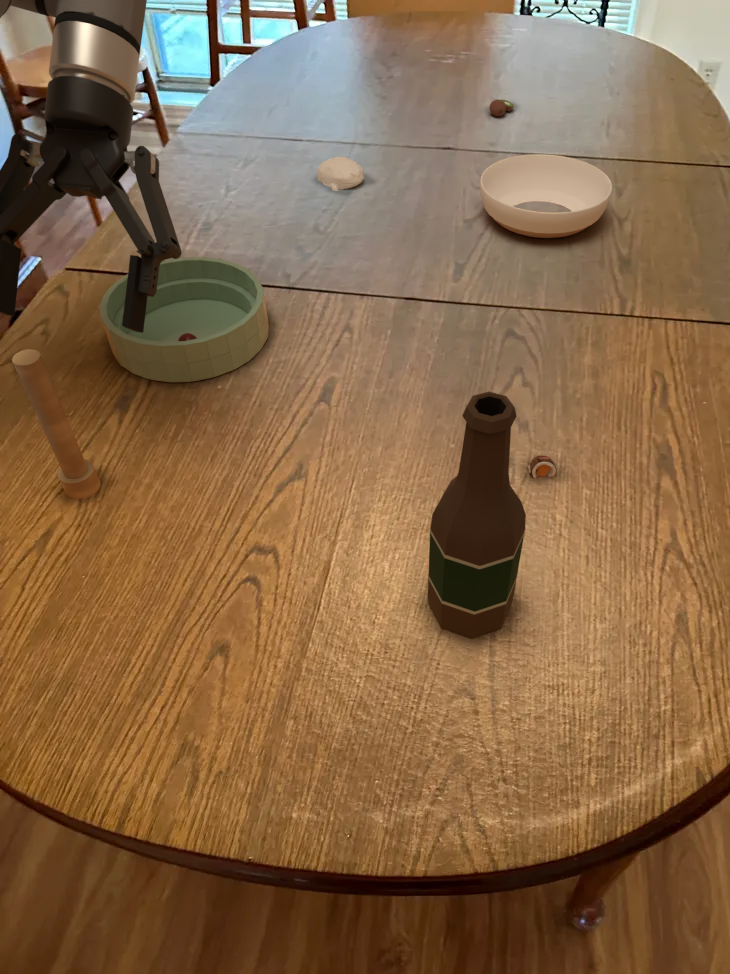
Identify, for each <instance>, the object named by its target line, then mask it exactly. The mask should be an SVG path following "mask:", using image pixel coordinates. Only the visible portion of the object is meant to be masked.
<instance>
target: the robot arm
mask: <svg viewBox="0 0 730 974" xmlns="http://www.w3.org/2000/svg"><path fill="white" fill-rule="evenodd" d="M147 2H148V0H0V19H1V18H2V17H3V16H4V15H6V13H7V11H8V10H9V9H10V7H15V8H18V9H21V10H24V11H28V12H32V13H35V14H39V15H43V16H46V17H52V18H55V19H54V24H53V32H52V33H53V34H52V40H51V41H52V42H51V50H50V58H49V66H48V74H49V76H50V78H51V79H50V80H49V81H48V83H47V88H46V98H45V107H44V123H45V131H46V132H45V136H44V137H43V140H41V142H39V141H34V140H29V139H27V138H26V137H25V136H23V135H22V134H20V133H15V134H13V135H12V137H11V140H10V144H9V148H8V154H7V157H6V159H5V161H4V162H3V164H2V165H1V167H0V314H2V315H5V316H12V317H15V313H16V305H17V295H18V287H19V286H18V285H19V277H20V269H21V268H20V267H21V257H22V248H20V247H18V246H17V245H16V242H17V241H18V240H20V238H22V236H23V235H24V234H25V233H26V232H27V231H28V230H29V229H30V228H31V227H32V226H33V224H34V223H36V221H37V220H38V219H39V218H40V217H41V216H42V215H43V214H44V213H45V212H46V211H47V210H48V209H49V208H50V207H51V205H52V204H53V203H54V202H55V201H59V200H62V199H63V198H64V197H65V196H66V195H67V194H68V195H70V196H71V197H77V198H80V197H85V196H87V197H90V198H92V199H96V200H102V199H103V197H105V198H106V200H107V201H108V203H109V205H110V207H111V208H112V209H113V212H114V213H115V214H116V216H117V218H118V220H119V221H120V222H121V224H122V226H123V228H124V230H125V231H126V233H127V234H128V236H129V237H130V239H131V241H132V243H133V245H134V246H135V247H136V249H137V250H136V252H137V254H139V255H140V256H139V255H134V254H130V255H129V261H128V263H129V264H128V271H127V274H128V279H127V287H126V296H125V304H124V313H123V322H122V326H124V327H126V328H128V329H131V330H133V331H135V332H141V333H143V330H144V322H145V314H146V305H147V297H148V296H151V297H154V295H155V294H156V291H157V283H158V282H157V281H158V274H159V266H160V264H161V262H162V261H164V260H170V259H178V258H181V256H182V248H181V245H180V242H179V239H178V236H177V232H176V230H175V226H174V223H173V220H172V217H171V214H170V211H169V207H168V205H167V202H166V199H165V196H164V192H163V190H162V186H161V184H160V160H159V159H158V158H157V157H156V156H155V155H154V154H153V153H152V152H151V151H150V150H149V149H148V148H147V147H145V145H138V146H137V147H136V148H135V150H129V151H128V146H129V145H130V143H131V135H132V129H133V128H132V127H133V119H134V108H133V106H132V103H133V102H134V101H135V99H136V98H135V97H136V89H137V81H138V74H139V73H138V72H139V65H140V56H141V47H142V40H143V32H144V24H145V18H146V9H147ZM41 160H42V161H43V164H41ZM36 167H38V169H37V170H36V171H35V169H36ZM129 169H130V171H131V172H132V174H134V175H135V178H136V182H137V185H138V188H139V191H140V194H141V197H142V200H143V203H144V206H145V210H146V213H147V217H148V219H149V222H150V225H151V228H152V231H153V235H154V237H155V240H156V241H155V240H154V238H153V237H152V235H151V233H150V232H149V230H148V229H147V227H146V225H145V224H144V222H143V220H142V218H141V216H140V215H139V213H138V212H137V210H136V208H135V206H134V205H133V204H132V202H131V200H130V196H129V194H128V193H127V191H126V190H125V188H124V187H123V185H122V183H121V181H120V180H121V179H122V178H123V176H124V175H125V174H126V173H127V172H128V171H129ZM30 180H31V182H30ZM51 180H53V183H52V182H51ZM29 182H30V183H29Z"/></svg>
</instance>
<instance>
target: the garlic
mask: <svg viewBox="0 0 730 974" xmlns="http://www.w3.org/2000/svg"><path fill="white" fill-rule="evenodd" d="M364 179H365V173H364V169H363V168H362V167H361V165H360V164H359V163H357V162H356V161H355V160H353V159H351V158H349V157H345V156H334V157H331V158H329V159H326V160H324V161H323V162H321V163H320V164H319V166H318V168H317V180H318V182H320V183H322V184H323V185H324V186H326V187H328V188H330V189H331V190H332V191H333V192H338V191H339V190H346V189H347V190H348V189H351V188H354V187H356V186H358V185H360V184H362V182H363V181H364Z"/></svg>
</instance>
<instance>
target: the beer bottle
mask: <svg viewBox="0 0 730 974" xmlns="http://www.w3.org/2000/svg"><path fill="white" fill-rule="evenodd" d="M515 407H516V406H515V405H514V403H512V401H511V400H510V398H509V397H508V396H507V395H505V394H501V393H496V392H493V391H486V392H485V391H484V392H481V393H478V394H477V393H476V394H474V395H472V396H471V398H470V400H469V401H468V403H467V405H466V406H465V409H464V411H463V413H462V418H463V419H464V421H465V429H464V434H463V440H462V441H463V442H462V447H461V454H460V461H459V466H458V472H457V475H456V476H455V477H454V478H452V479H450V481H449V484H447V487H446V488H445V490H444V492H443V494H442V496H441V498H439V499H440V500H439V501H438V503H437V505H436V506H435V509H434V510H433V512H432V514H431V520H430V528H429V549H428V550H429V551H428V575H427V576H428V578H427V604H428V606H429V608H430V611H431V612H432V614H433V616H434V618H435V620H436V622H437V624H438V626H439V628H440V629H441V630H444V631H447V632H450V633H453V634H455V635H458V636H461V637H464V638H466V639H470V640H473V639H476V638H479V637H483V636H485V635H488V634H491V633H493V632H497V631H499V630H502V629H503V625H504V623H505V620H506V618H507V616H508V614H509V611H510V608H511V606H512V603H513V600H514V596H515V590H516V585H517V579H518V572H519V569H520V563H521V562H520V561H521V555H522V549H523V544H524V538H525V533H526V522H527V521H526V520H527V514H526V511H525V508H524V506H523V502H522V500H521V499H520V497H519V496H518V493H516V491H515V490H514V489H513V487H512V485H511V482H510V481H511V480H510V453H511V437H512V436H511V435H512V426H513V425H514V422H515V421H516V419H517V411H516V408H515Z"/></svg>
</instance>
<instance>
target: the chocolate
mask: <svg viewBox="0 0 730 974" xmlns="http://www.w3.org/2000/svg"><path fill="white" fill-rule="evenodd" d="M535 454H537V456H534V457H533V458H532V459H531V461H530V464H528V466H527V467H528V472H529V474H530V476H531V477H532V478H534V479H536V478H537V477H546V476H548V477H554V476H555V475H556V474H557V472H558V467H557V466H556V464H555V462H554V461H553V459H552V458H551V457H552V455H554V454H555V452H554V451H547V450H546V451H545V452H543V451H538V450H536V451H535Z"/></svg>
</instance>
